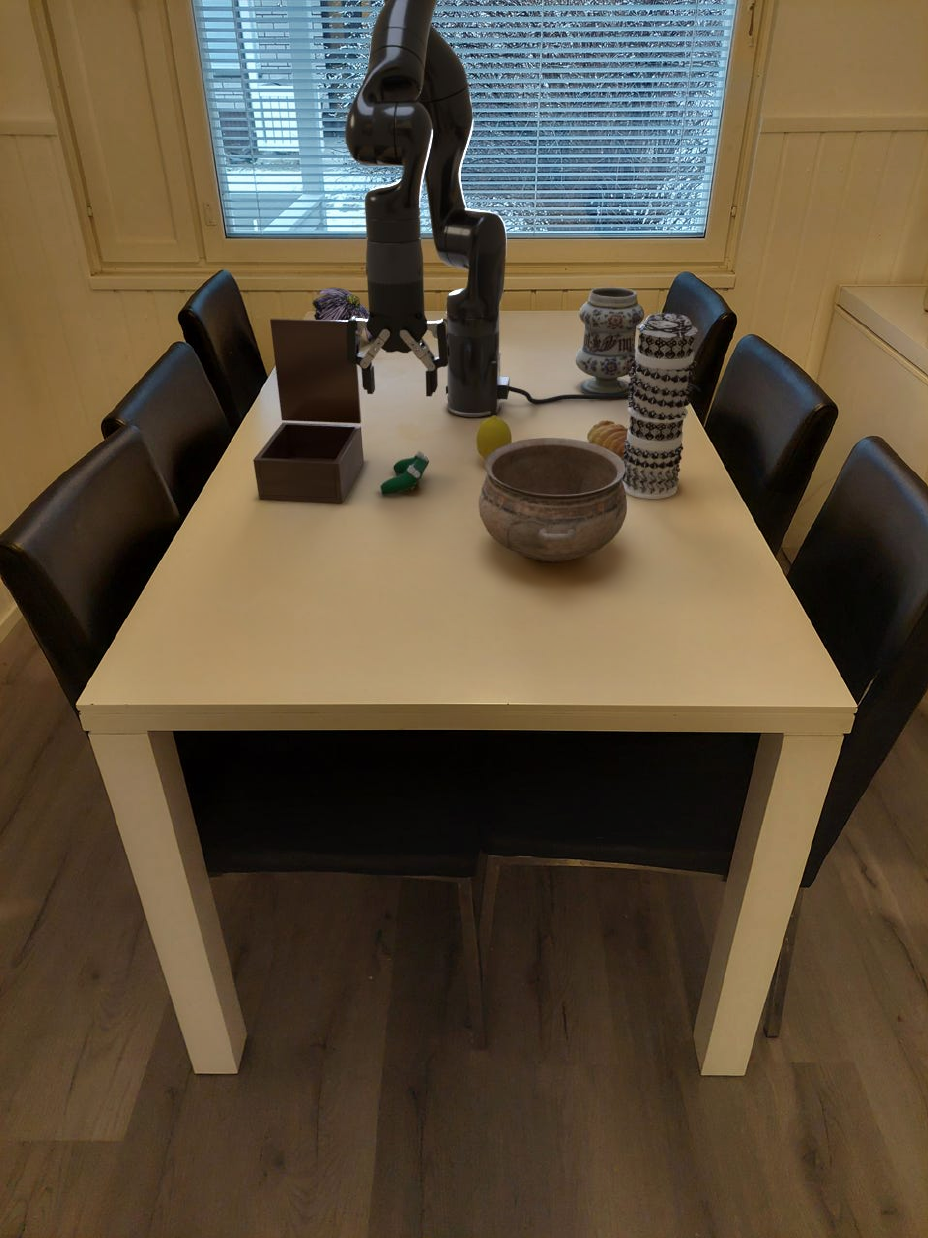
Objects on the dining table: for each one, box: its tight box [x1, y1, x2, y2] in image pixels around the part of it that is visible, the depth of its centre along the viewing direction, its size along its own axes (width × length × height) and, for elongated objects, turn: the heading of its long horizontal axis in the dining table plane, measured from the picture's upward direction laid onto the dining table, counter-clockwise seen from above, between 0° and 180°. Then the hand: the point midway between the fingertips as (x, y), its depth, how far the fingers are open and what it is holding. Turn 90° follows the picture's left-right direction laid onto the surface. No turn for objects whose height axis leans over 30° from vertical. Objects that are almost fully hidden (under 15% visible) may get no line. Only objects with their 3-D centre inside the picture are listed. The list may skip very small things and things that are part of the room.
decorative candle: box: [621, 312, 699, 500], centre depth 125 cm, size 9×9×25 cm
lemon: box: [475, 415, 513, 461], centre depth 138 cm, size 6×6×8 cm
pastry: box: [587, 419, 629, 460], centre depth 143 cm, size 9×7×4 cm
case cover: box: [269, 318, 362, 424], centre depth 135 cm, size 15×13×5 cm
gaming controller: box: [380, 450, 430, 495], centre depth 133 cm, size 9×4×6 cm
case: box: [252, 421, 365, 504], centre depth 134 cm, size 15×13×6 cm
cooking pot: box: [478, 437, 628, 564], centre depth 113 cm, size 25×19×12 cm
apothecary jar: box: [574, 286, 645, 394], centre depth 163 cm, size 12×12×18 cm
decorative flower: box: [311, 287, 375, 344], centre depth 194 cm, size 15×12×15 cm
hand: (400, 393), depth 126 cm, fingers open, 8 cm apart
